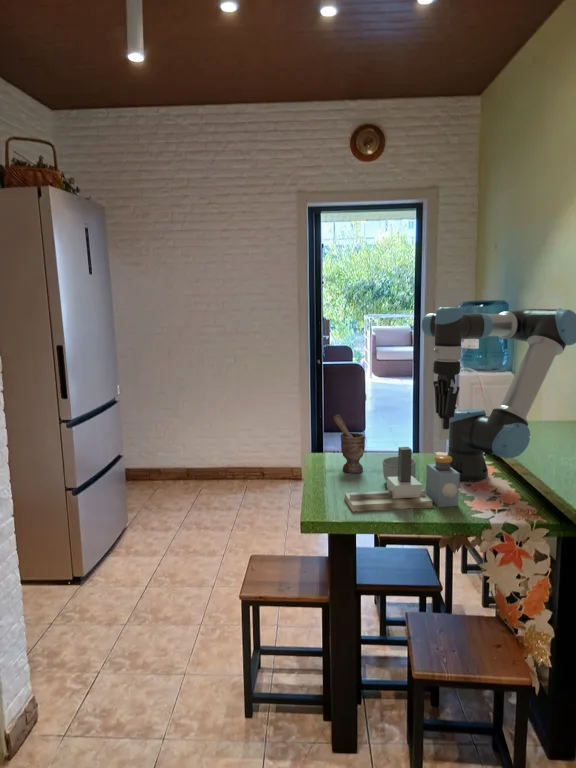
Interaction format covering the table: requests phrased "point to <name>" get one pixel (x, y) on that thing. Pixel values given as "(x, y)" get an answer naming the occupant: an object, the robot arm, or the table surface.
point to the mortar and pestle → (351, 447)
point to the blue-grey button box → (442, 486)
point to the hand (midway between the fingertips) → (443, 438)
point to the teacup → (395, 467)
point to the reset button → (443, 462)
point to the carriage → (404, 477)
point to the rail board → (384, 501)
